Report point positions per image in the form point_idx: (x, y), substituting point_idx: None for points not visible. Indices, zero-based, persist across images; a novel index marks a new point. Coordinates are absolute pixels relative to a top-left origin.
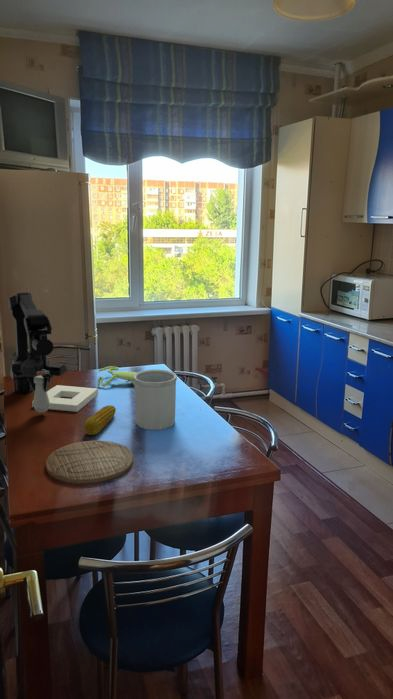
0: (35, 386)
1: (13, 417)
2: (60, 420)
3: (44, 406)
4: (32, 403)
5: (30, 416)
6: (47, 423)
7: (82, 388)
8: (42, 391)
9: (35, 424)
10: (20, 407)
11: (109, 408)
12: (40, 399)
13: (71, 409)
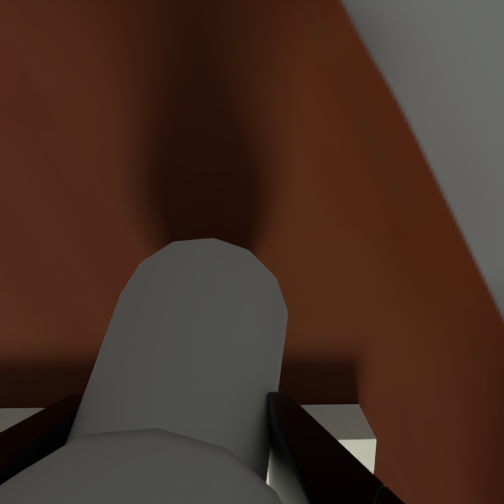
0: (246, 433)
1: (412, 184)
2: (5, 217)
3: (135, 270)
4: (369, 426)
5: (287, 237)
6: (71, 129)
7: None
8: (104, 368)
9: (157, 83)
10: (451, 385)
11: None
12: (155, 284)
13: (20, 416)
